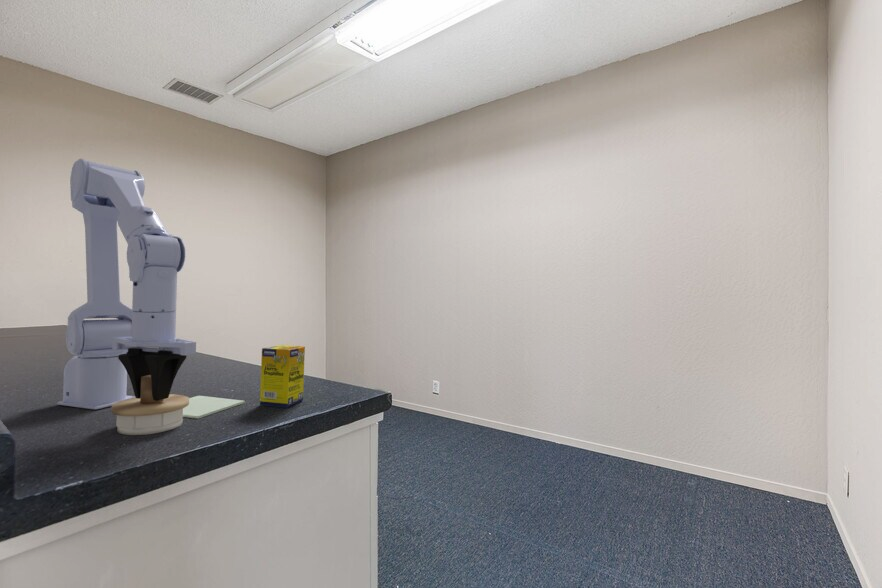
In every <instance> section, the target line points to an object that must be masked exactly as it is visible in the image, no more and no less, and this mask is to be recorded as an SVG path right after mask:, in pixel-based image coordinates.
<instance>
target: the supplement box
mask: <svg viewBox="0 0 882 588" xmlns="http://www.w3.org/2000/svg"><path fill="white" fill-rule="evenodd" d="M305 348H306V346H301V345H288V344H287V345H284V344H278V345H275V346H270V347H269V346H268V347H262V348H261V363H260V364H261V366H260V388H259V389H260V392H259V393H260V397H259V405H260V406H264V407H265V406H266V407H276V408H285V409H287V408H289V407H290V406H294V405H295V404H298V403H300V401H301V402H303V401H304V387H305V386H304V383H305V381H304V380H305V351H306V350H305ZM302 400H303V401H302Z"/></svg>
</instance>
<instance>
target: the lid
mask: <svg viewBox="0 0 882 588" xmlns="http://www.w3.org/2000/svg"><path fill="white" fill-rule="evenodd" d="M189 398H190V397H189V396H187V395H185V394H184V395H183V394H175V393H174V394H172V393H171V394H169V397H168V398H166V399H162V400H158V401H155V400H153V396H152V380H151V375H146V376H142V377H141V395H140V398H139V399H138V398H136V397H134V398H130V399H125V400H122V401H119V402H116V403H114V404H113V405H112V406H111V409H110V410H111V413H112V414H113V415H115V416H117V415H119V416H147V415H156V414H163V413H168V412H172V411H176V410H179V409H182V408H184V407H186V406H188V405H189Z"/></svg>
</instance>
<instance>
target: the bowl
mask: <svg viewBox="0 0 882 588" xmlns="http://www.w3.org/2000/svg"><path fill="white" fill-rule="evenodd" d="M115 416H116V419H115V420H116V422H115V423H116V424H115V426H116V427H117V433H119V434H120V435H121V434H122V435H127V436H141V435H142V436H143V435H152V434H153V435H154V434H158V433H162V432H163V433H164V432H167V431H171V430H174V429H177V428H179V427H180V426H182V424H183V421H184V419H183V418H184V417H183V408H182V409H179V410H176V411H172V412H168V413H163V414H156V415H147V416H119V415H115Z"/></svg>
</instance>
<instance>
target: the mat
mask: <svg viewBox="0 0 882 588" xmlns="http://www.w3.org/2000/svg"><path fill="white" fill-rule="evenodd" d="M188 398H189V405H188V406H186V407H184V408H183V418H190V419H197V420H198V419H201V418H204V417H208V416H210V415H214V414H216V413H219V412H222V411H225V410H228V409H231V408H234V407H236V406H239V405H242V404H246V401H245V400H241V399H234V398H233V399H232V398H225V397H224V398H223V397H214V396H207V395H196V396H193V397H188Z"/></svg>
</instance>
